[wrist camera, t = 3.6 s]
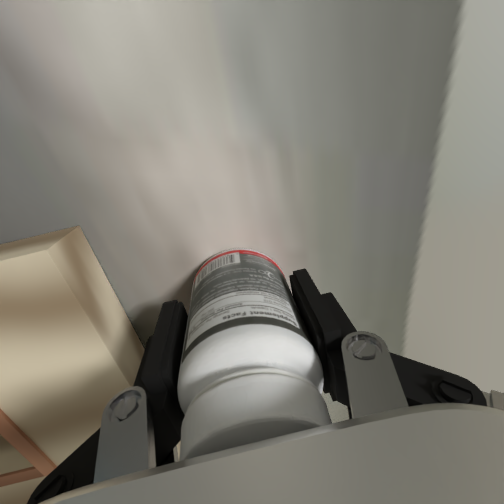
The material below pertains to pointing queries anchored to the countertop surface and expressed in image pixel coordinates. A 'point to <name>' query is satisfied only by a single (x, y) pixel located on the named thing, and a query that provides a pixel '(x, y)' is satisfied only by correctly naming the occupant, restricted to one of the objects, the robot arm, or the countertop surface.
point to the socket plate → (56, 355)
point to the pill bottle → (245, 358)
